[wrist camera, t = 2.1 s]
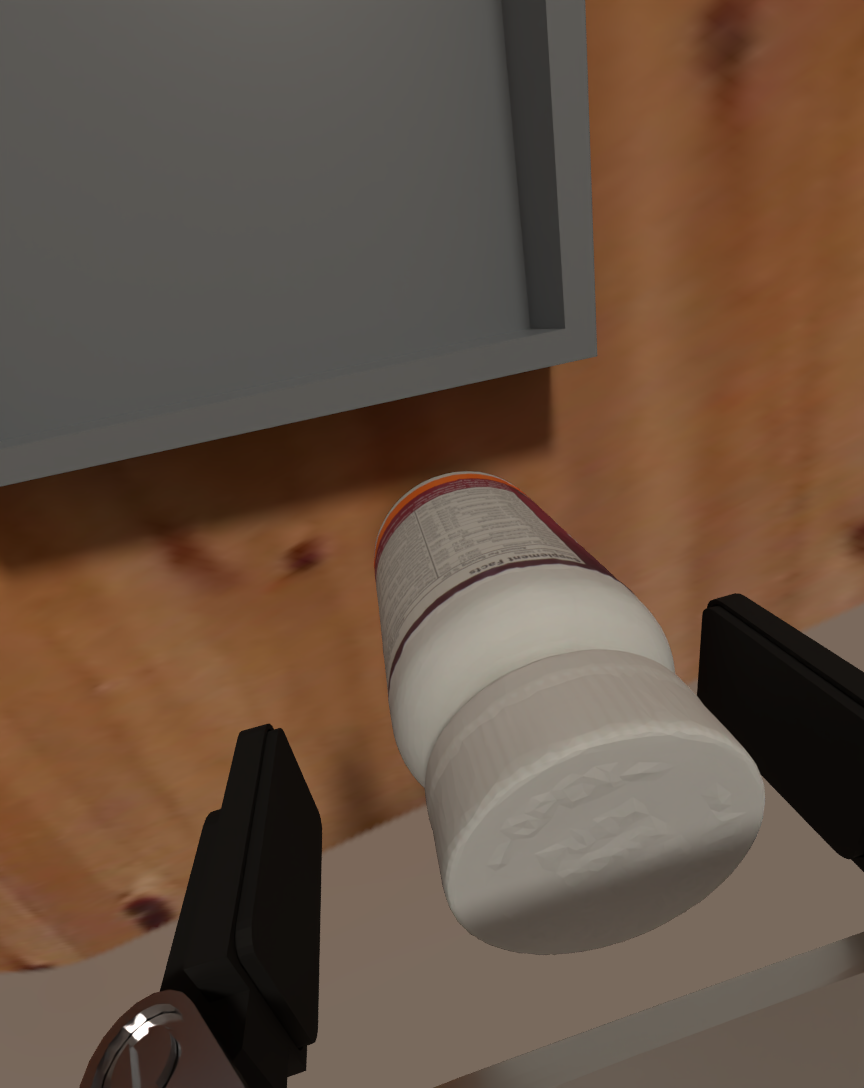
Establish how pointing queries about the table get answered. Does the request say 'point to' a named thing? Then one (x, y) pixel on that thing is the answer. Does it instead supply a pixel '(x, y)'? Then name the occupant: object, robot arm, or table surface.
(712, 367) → the table surface
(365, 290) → the tray
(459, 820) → the pill bottle
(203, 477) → the table surface
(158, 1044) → the robot arm
